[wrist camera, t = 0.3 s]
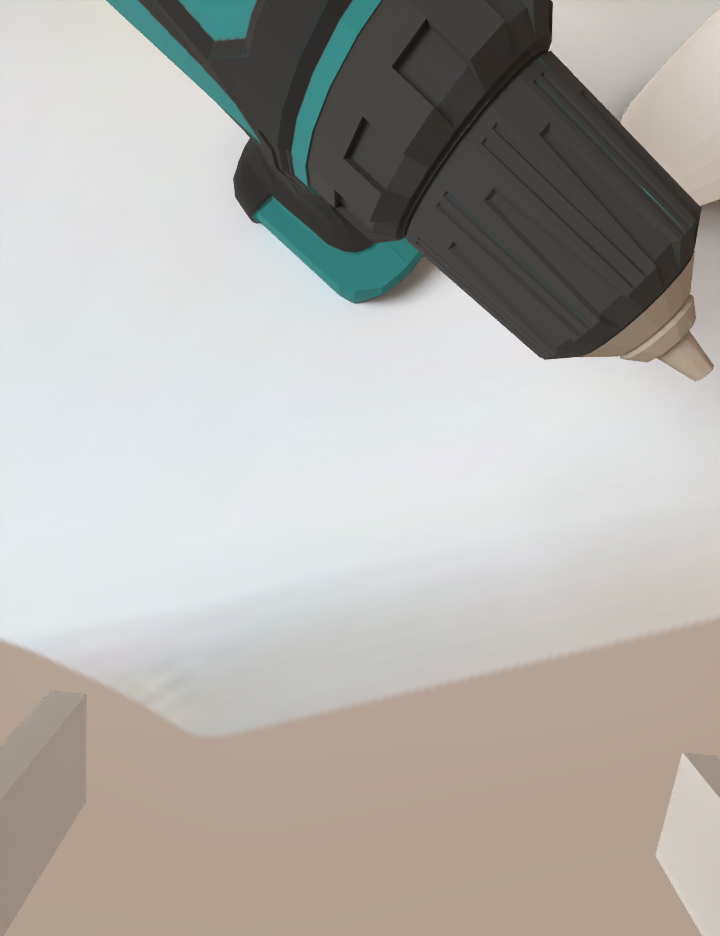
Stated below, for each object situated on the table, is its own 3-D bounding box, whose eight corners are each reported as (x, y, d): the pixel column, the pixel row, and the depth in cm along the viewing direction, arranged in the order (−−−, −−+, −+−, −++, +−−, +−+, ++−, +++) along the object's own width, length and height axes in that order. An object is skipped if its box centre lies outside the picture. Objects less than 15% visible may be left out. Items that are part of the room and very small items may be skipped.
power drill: (551, 310, 37) (933, 224, 12) (457, 411, 38) (632, 515, 14) (249, 12, 33) (-70, -955, 9) (158, 135, 34) (-337, -398, 10)
